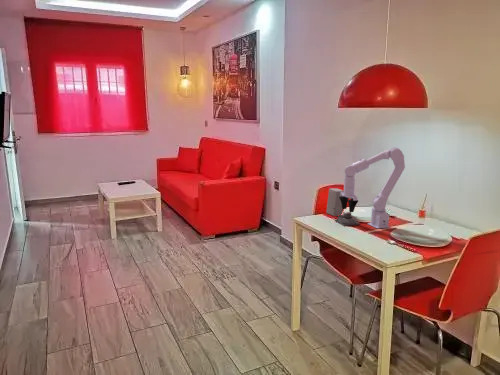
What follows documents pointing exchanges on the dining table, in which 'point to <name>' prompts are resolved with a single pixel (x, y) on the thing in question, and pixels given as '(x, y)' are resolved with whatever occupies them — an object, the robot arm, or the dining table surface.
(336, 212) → the skincare box
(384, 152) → the robot arm
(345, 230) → the dining table surface
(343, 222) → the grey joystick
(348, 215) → the cap
